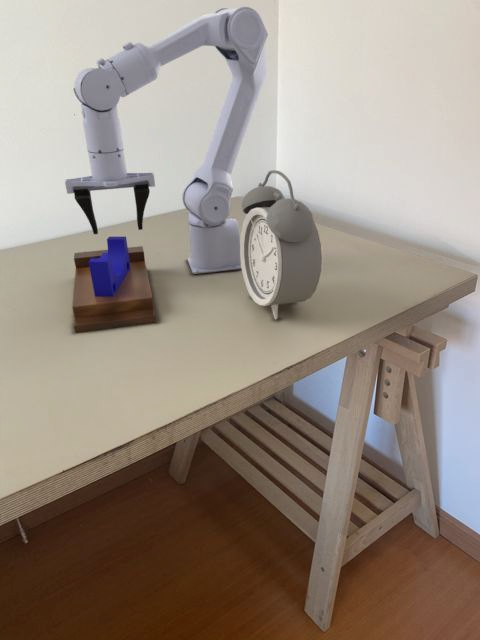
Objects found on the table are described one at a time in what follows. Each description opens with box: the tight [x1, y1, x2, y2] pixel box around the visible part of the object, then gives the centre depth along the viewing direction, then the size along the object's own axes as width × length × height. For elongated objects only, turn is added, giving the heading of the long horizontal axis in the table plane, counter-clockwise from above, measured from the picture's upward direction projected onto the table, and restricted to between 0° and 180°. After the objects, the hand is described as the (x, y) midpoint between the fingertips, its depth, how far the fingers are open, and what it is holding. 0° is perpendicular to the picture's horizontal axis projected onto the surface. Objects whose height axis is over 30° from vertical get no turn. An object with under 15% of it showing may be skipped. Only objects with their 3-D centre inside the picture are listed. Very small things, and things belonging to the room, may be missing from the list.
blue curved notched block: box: [89, 236, 131, 297], centre depth 95 cm, size 12×4×6 cm, turn 178°
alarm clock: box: [240, 169, 323, 320], centre depth 89 cm, size 16×9×22 cm, turn 23°
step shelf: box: [72, 245, 157, 333], centre depth 97 cm, size 12×23×5 cm, turn 14°
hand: (118, 230), depth 99 cm, fingers open, 7 cm apart
